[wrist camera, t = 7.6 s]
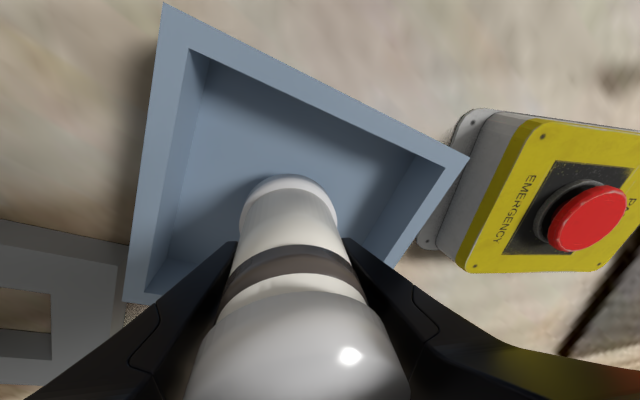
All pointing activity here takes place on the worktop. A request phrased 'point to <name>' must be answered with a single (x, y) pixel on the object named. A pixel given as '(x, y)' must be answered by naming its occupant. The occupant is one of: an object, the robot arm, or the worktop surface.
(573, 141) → the emergency button
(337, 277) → the frosted globe bulb
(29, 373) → the grey square frame
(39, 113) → the worktop surface
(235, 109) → the parts tray
